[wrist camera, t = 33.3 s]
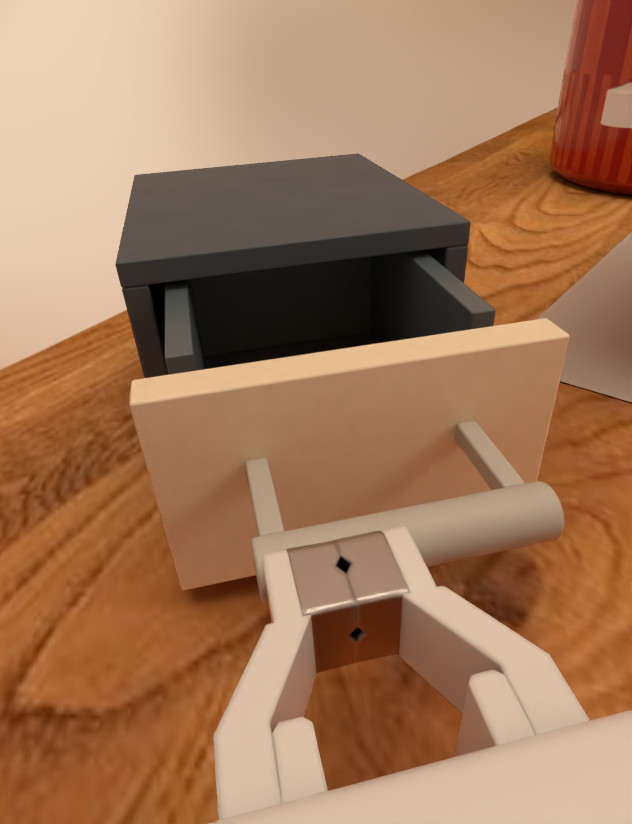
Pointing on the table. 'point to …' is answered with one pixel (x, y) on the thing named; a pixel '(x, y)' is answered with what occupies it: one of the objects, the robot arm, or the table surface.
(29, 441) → the table surface
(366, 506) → the drawer
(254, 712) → the robot arm
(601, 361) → the architectural model
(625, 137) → the planter
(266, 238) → the cabinet
